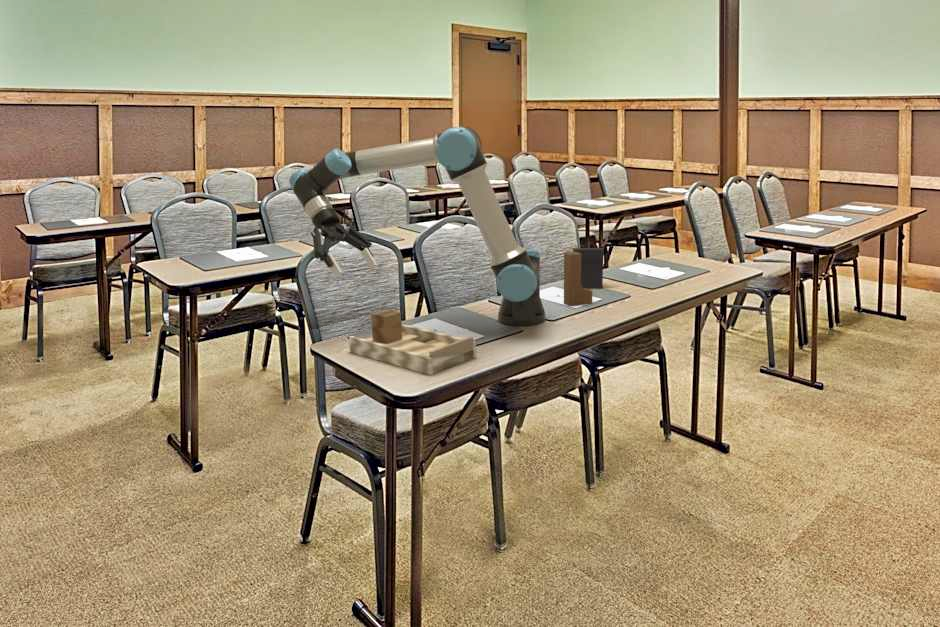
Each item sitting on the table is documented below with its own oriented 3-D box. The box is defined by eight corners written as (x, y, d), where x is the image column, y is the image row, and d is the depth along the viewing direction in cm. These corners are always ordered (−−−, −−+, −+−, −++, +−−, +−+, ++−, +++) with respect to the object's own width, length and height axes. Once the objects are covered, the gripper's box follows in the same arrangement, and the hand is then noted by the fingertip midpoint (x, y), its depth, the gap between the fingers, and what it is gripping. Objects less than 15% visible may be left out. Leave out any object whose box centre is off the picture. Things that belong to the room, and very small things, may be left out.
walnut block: (372, 340, 220) (371, 313, 218) (388, 335, 225) (386, 309, 222) (386, 344, 216) (385, 316, 214) (402, 339, 221) (400, 312, 219)
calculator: (601, 286, 288) (602, 247, 284) (602, 289, 284) (603, 249, 280) (572, 286, 289) (572, 247, 285) (573, 289, 285) (573, 249, 281)
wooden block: (586, 300, 268) (587, 249, 264) (592, 303, 264) (593, 252, 260) (563, 303, 266) (563, 252, 261) (569, 306, 262) (569, 254, 257)
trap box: (349, 351, 218) (348, 331, 217) (396, 336, 232) (395, 317, 230) (430, 375, 198) (429, 353, 196) (476, 357, 211) (476, 336, 209)
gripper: (348, 218, 240) (382, 272, 235) (282, 227, 222) (317, 285, 217) (359, 203, 235) (394, 257, 230) (293, 210, 217) (329, 270, 212)
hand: (357, 271), depth 223 cm, fingers open, 13 cm apart
